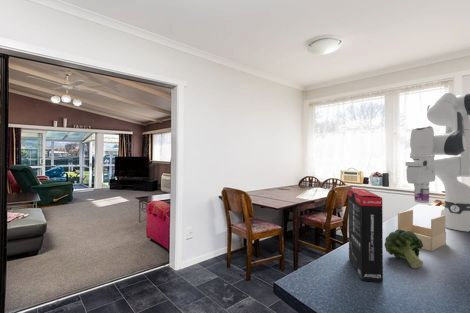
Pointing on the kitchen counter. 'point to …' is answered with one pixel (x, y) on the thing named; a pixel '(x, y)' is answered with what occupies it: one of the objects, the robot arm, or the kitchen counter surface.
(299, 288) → the kitchen counter surface
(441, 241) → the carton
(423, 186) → the pill bottle
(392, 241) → the vegetable
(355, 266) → the graphics card box
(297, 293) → the kitchen counter surface
